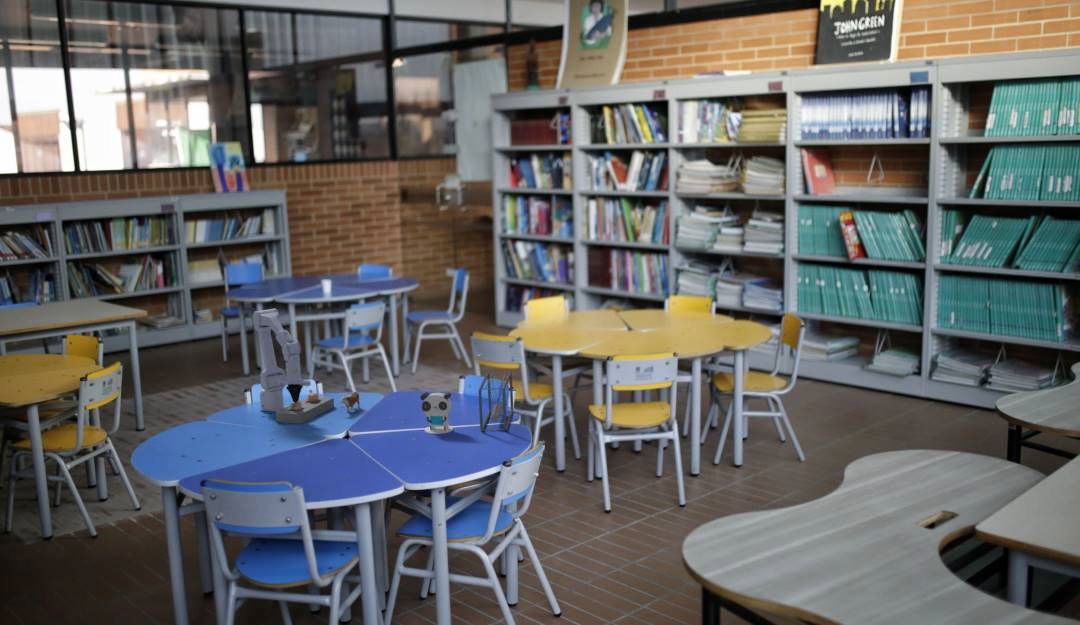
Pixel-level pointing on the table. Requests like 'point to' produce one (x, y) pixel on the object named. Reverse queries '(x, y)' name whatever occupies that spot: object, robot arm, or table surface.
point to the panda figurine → (437, 412)
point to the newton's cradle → (498, 406)
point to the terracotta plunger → (313, 398)
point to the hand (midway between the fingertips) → (295, 401)
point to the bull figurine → (350, 400)
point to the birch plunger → (296, 406)
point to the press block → (304, 411)
